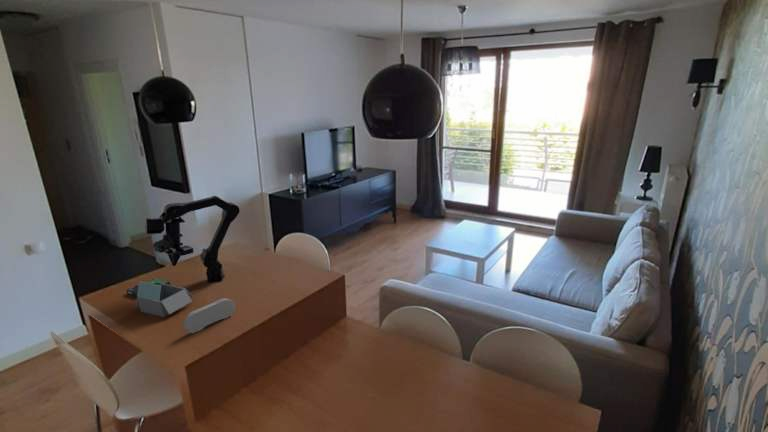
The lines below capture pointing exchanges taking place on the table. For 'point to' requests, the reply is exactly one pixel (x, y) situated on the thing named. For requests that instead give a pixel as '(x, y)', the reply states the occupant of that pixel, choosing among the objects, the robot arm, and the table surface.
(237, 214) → the robot arm
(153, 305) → the grey open storage bin
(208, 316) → the grey rounded flat bar
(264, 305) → the table surface
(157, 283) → the disk drive
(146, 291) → the flap
